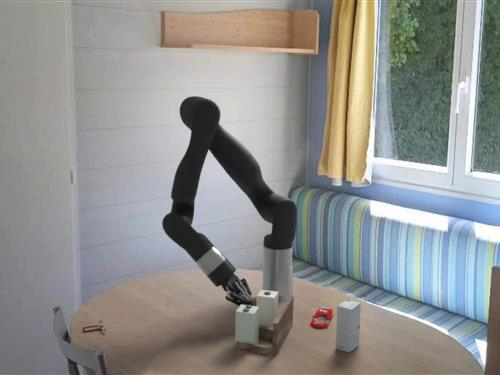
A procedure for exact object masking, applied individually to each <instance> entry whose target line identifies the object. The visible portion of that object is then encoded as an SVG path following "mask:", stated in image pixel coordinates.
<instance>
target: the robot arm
mask: <svg viewBox="0 0 500 375" xmlns="http://www.w3.org/2000/svg"><path fill="white" fill-rule="evenodd" d="M179 118H180V119H181V121H182V123H183V125H184V126H186V128H188V129H189V130H190V138H189V143H188V146H187V148H186V151H185V153H184V155H183V157H182V158H181V161H180V162H179V164H178V165H177V168H176V171H175V174H174V178H173V182H172V187H171V192H170V198H171V199H172V204H171V210H170V212H169V213H166V215H165V216H164V217H163V219H162V222H161V226H162V230H163V231H164V233H165V234H166V235H167V237H168V238H169V239H170V240H171V241H173V242H174V243H175V244H177V246H179V247H180V248H181V249H183V250H184V251H185V252H186V253H187V254H188V256H190V258H191V259H192V260H193V261H194V262H195V263H196V265H197V266H198V267H199V269H200V270H201V272H202V273H203V274H205V276H206V277H207V278H208V279H209V281H210V282H211V283H212V284H213V285H214V286H215V287H216V288H218V287H220V286H221V288H223V291H225V292H226V296H224V297H225V300H227V301H228V302H230V303H232V304H234V305H236V306H238V307H239V306H240V305H241V304H242V305H251V306H256V304H257V303H256V302H255V301H254V300H253V299H252V298H253V297H252V295H253V294H252V291H251V289H250V287H249V284H248V282H247V280H246V278H245V277H244V278H242V279H240V278H239V276H237V275H236V274H235V272H236V271H237V268H236V267H235V266H234V265H233V263H232V262H231V261H229V259H228V258H227V257H226V256H225V255H224V254H223V252H221V251H220V249H218V248H217V247H216V246H215V245H214V244H213V242H212V241H211V240H210V239H209V238H208V237H207V236H206V235H205V234H204V233H202V232H198V231H197V230H196V229H195V228H194V227H193V226H192V224H193V220H194V214H195V201H196V200H195V199H196V197H197V193H198V190H199V189H198V188H199V183H200V179H201V174H202V170H203V168H204V164H205V161H206V158H207V155H208V153H209V152H210V153H211V155H212V156H213V157H214V158H215V160H216V161H217V162H218V163H219V164H220V166H221V167H222V169H223V170H224V172H226V174H227V175H228V177H230V178H231V180H232V181H233V182H234V183H235V184H236V185H237V186H238V188H239V189H240V190H241V191H242V192H243V194H245V195H246V196H247V197H248V200H250V202H251V203H252V205H253V207H254V208H255V209H256V211H257V213H258V215H260V217H261V218H262V219H263V220H264V221H265V222H267V223H268V224H269V223H270V224H271V225H272V226H271V233H269V234H266V235H264V236H263V237H264V238H263V240H262V241H263V248H262V250H263V252H262V285H261V286H262V289H261V290H268V291H276V292H278V302H286V301H287V299H288V298H289V296H293V285H294V284H293V283H294V282H293V279H294V267H293V246H294V245H293V242H294V240H295V237H296V231H297V219H298V207H297V205H296V203H295V201H294V200H293V199H292V198H289V197H286V196H284V195H283V196H282V195H280V194H277V193H276V192H275V191H274V190H273V189H272V188H270V186H269V185H268V184H267V183H266V182H265V179H264V178H263V175H262V170H261V166H260V164H259V162H258V160H257V159H256V158H255V156H254V155H253V154H252V153H251V151H250V149H249V150H248V148H247V147H246V146H245V144H244V143H243V142H241V141H240V140H238V139H237V138H236V137H235V136H233V135H232V134H231V133H230V132H229V131H228V130H226V129H225V128H224V126H222V124H221V123H220V120H221V109H220V106H219V105H218V104H217V102H215V101H214V100H212V99H208V98H205V97H203V96H196V95H195V96H188V97H186V98H185V99H183V100H182V102H181V103H180V106H179Z"/></svg>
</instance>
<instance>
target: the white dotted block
mask: <svg viewBox="0 0 500 375" xmlns="http://www.w3.org/2000/svg"><path fill="white" fill-rule="evenodd" d="M255 304H256V306H257V307H259V325H261V326H268V327H273V322H274V321H275V319H276V317H277V316H278V314H279V301H278V292H276V291H268V290H262V289H260V290H259V292H258V293H257V295H256V303H255Z"/></svg>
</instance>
